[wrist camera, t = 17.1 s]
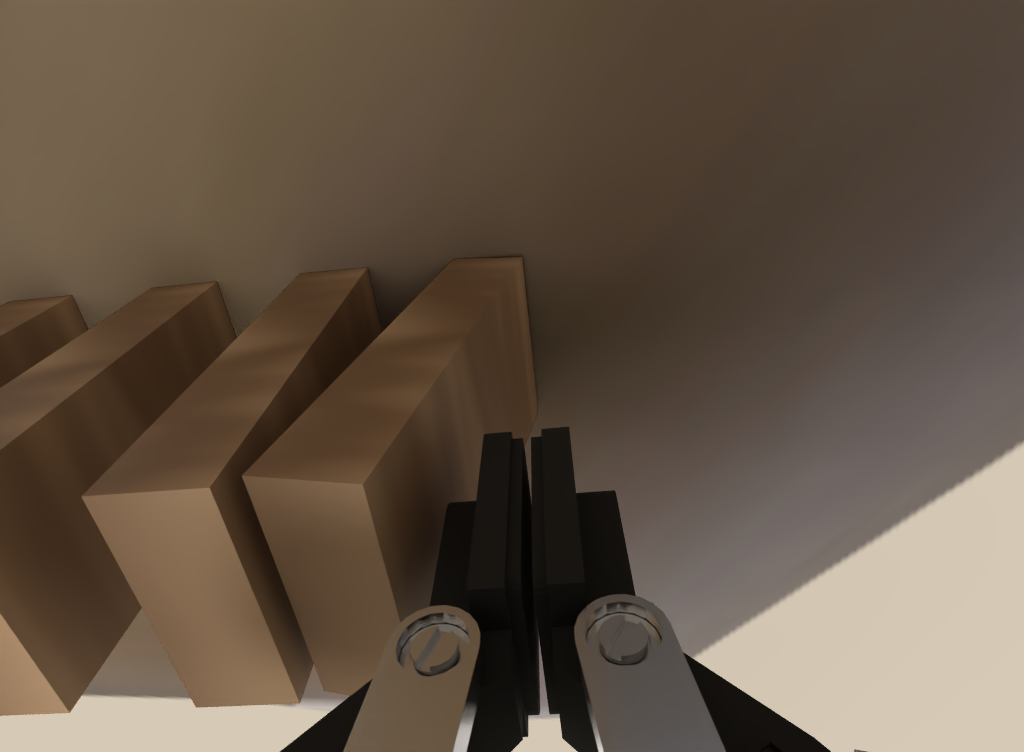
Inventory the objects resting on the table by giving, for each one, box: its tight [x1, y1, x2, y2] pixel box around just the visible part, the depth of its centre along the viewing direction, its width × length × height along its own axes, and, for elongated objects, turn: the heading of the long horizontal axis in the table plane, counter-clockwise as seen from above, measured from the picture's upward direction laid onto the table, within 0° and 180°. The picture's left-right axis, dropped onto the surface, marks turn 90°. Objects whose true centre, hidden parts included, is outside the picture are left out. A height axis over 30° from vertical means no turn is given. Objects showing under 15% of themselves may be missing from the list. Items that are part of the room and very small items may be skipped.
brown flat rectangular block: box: [81, 267, 382, 707], centre depth 15 cm, size 2×5×10 cm, turn 6°
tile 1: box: [242, 257, 538, 695], centre depth 15 cm, size 2×5×10 cm, turn 6°
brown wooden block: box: [0, 282, 236, 716], centre depth 15 cm, size 2×5×10 cm, turn 6°
